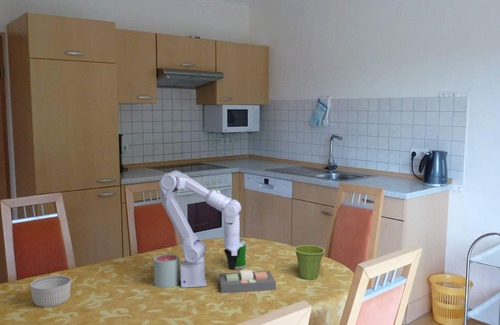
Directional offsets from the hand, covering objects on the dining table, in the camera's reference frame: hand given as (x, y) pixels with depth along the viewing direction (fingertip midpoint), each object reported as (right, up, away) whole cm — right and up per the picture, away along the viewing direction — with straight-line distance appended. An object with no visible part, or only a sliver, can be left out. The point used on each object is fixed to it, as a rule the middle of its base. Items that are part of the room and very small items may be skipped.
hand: (231, 268), depth 172 cm
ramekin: (-62, -9, -12) cm, 64 cm away
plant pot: (+30, -6, +11) cm, 33 cm away
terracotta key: (+11, -6, +2) cm, 13 cm away
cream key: (+6, -5, +1) cm, 8 cm away
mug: (-25, -6, +6) cm, 26 cm away
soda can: (+1, -5, +21) cm, 22 cm away
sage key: (0, -6, +1) cm, 6 cm away
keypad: (+6, -7, +2) cm, 9 cm away
